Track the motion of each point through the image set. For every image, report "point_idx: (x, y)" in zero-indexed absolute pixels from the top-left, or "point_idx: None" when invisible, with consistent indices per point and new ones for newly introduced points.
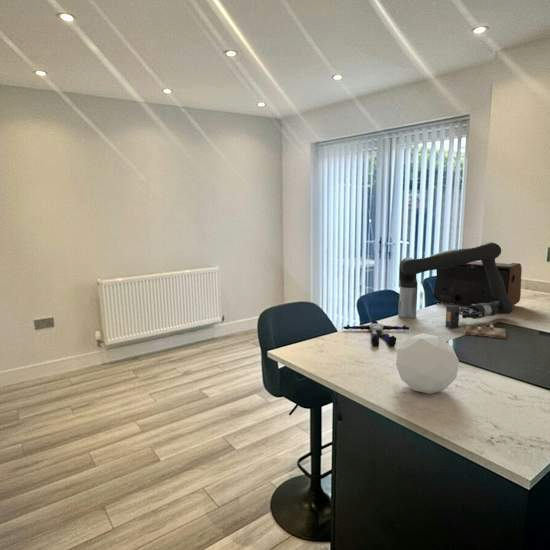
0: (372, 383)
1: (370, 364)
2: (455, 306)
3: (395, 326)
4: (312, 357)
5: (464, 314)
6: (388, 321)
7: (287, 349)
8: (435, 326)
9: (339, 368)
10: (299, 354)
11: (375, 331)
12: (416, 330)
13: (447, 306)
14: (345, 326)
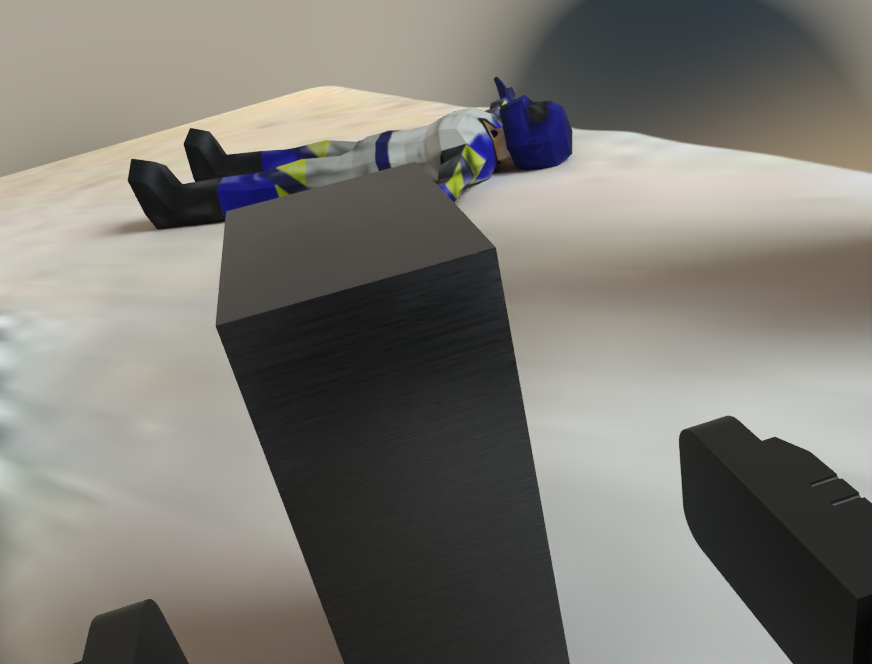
0: None
1: (51, 199)
2: (282, 258)
3: (440, 183)
4: (224, 126)
5: (95, 647)
6: (776, 186)
7: (327, 92)
8: (557, 467)
9: (93, 165)
10: (268, 110)
11: (349, 143)
12: None
13: (384, 174)
14: (509, 88)
